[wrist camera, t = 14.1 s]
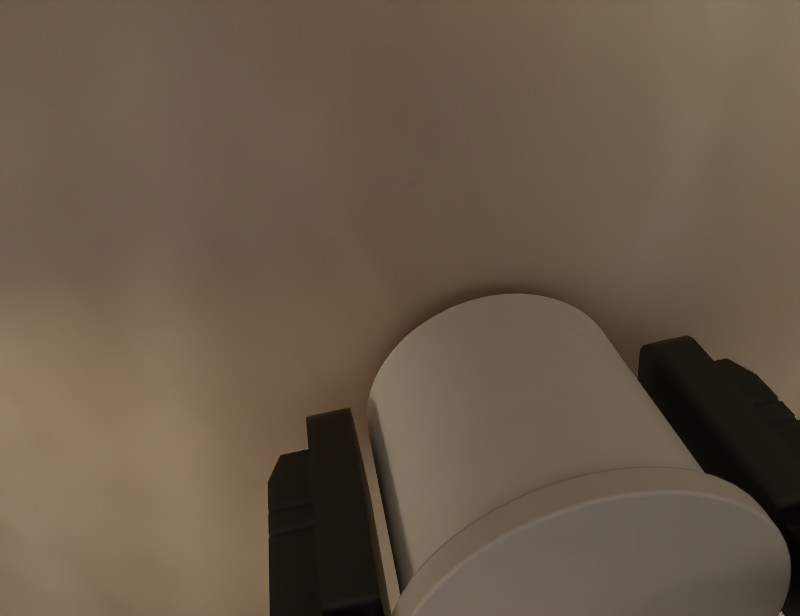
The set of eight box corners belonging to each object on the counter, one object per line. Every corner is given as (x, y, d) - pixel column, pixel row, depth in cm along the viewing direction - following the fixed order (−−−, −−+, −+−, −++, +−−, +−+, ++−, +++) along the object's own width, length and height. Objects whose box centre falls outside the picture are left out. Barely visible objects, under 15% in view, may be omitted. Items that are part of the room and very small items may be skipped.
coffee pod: (285, 404, 12) (300, 666, 8) (537, 213, 11) (692, 414, 7) (459, 540, 14) (532, 786, 10) (676, 398, 13) (843, 616, 9)
